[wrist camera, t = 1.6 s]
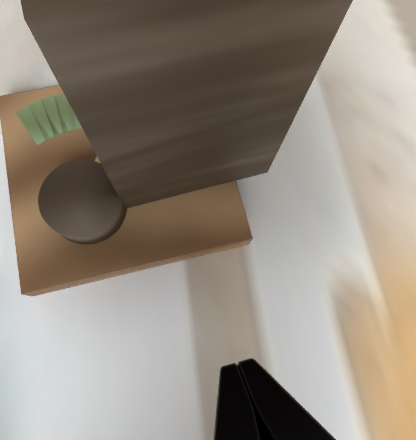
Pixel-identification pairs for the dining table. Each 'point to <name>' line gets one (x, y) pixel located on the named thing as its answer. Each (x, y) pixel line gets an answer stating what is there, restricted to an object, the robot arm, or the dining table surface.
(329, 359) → the dining table surface
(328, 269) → the dining table surface
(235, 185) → the dial plate
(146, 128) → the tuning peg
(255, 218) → the dining table surface
